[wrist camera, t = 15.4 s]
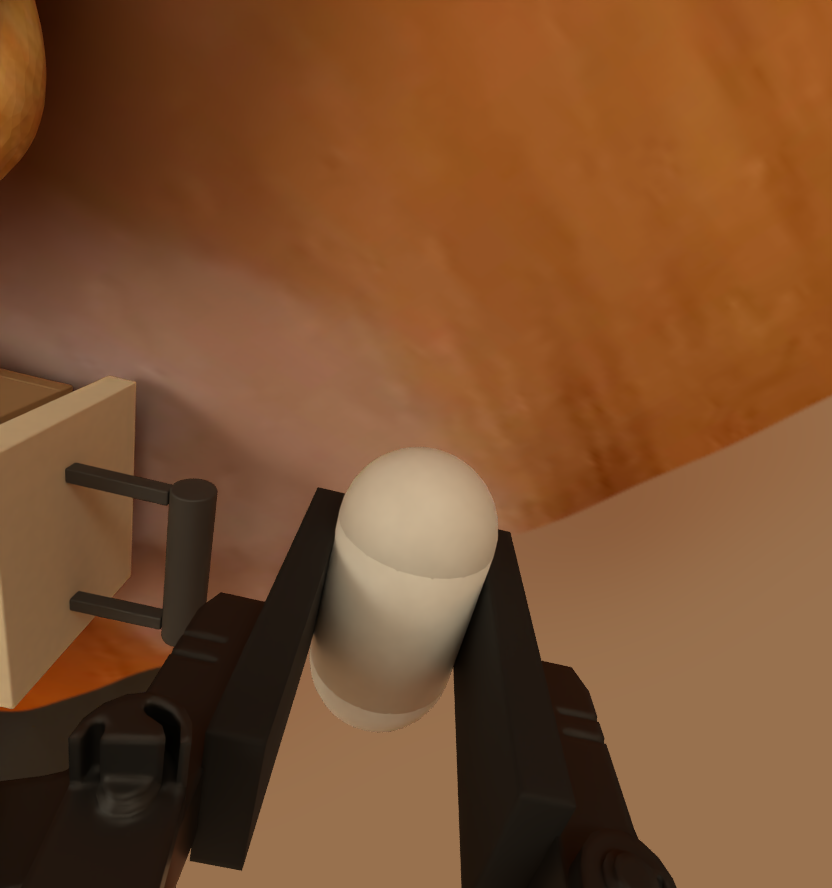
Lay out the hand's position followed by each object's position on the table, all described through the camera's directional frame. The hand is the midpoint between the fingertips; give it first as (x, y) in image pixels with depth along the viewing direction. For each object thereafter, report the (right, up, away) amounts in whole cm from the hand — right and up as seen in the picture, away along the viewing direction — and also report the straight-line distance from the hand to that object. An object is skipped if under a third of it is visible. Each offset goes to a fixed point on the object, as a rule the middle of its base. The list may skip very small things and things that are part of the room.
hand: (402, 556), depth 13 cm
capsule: (0, 0, 0) cm, 0 cm away
